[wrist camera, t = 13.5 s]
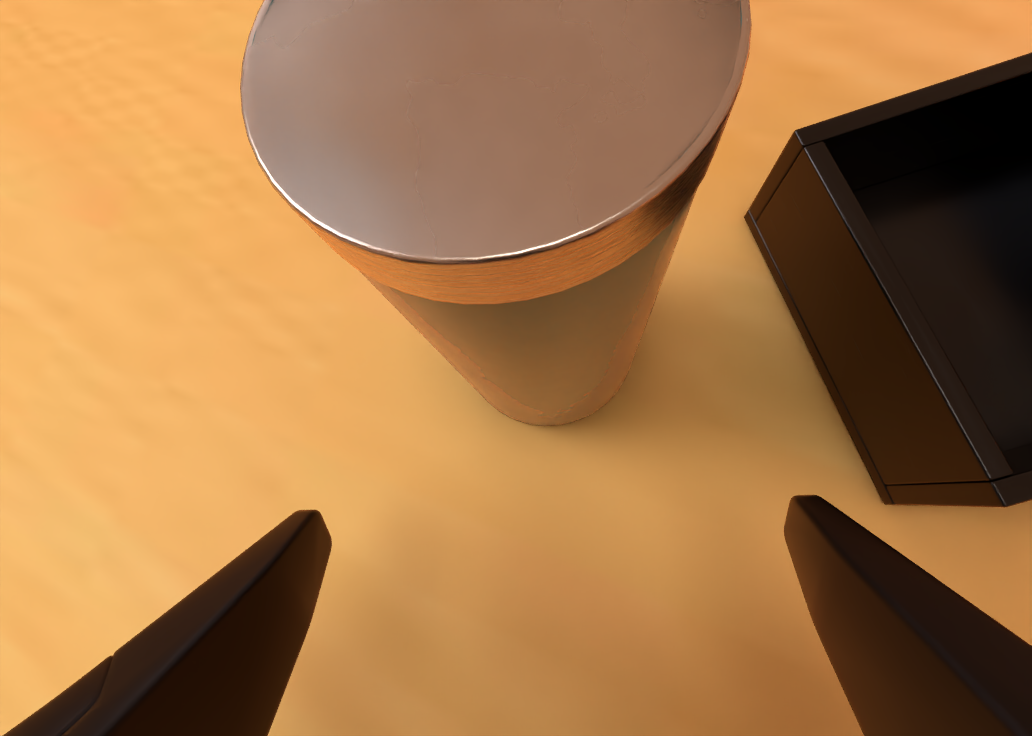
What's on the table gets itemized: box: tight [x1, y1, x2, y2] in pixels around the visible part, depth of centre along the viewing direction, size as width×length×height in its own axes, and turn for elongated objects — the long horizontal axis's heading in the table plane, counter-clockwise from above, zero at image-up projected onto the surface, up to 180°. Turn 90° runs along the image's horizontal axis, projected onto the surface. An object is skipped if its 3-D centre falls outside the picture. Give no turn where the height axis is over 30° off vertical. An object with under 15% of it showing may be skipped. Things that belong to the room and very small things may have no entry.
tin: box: [240, 0, 751, 426], centre depth 12 cm, size 6×6×12 cm
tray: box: [744, 53, 1032, 507], centre depth 14 cm, size 11×10×4 cm
